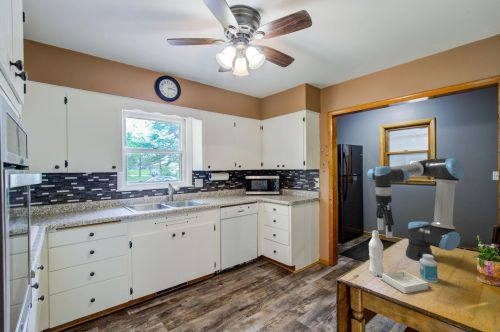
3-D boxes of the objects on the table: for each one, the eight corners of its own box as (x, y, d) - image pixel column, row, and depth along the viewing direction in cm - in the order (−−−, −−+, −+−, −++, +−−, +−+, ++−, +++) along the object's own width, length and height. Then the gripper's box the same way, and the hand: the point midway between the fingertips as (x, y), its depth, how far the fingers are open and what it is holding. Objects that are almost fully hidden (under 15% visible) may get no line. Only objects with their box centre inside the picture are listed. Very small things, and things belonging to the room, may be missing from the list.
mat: (407, 276, 129) (407, 274, 129) (432, 289, 116) (432, 287, 116) (380, 281, 125) (380, 279, 125) (403, 295, 111) (403, 293, 111)
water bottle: (366, 272, 135) (365, 229, 134) (378, 271, 135) (377, 228, 135) (374, 278, 128) (373, 233, 127) (386, 277, 128) (385, 232, 128)
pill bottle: (440, 282, 122) (440, 256, 122) (433, 286, 119) (432, 259, 119) (424, 276, 129) (424, 251, 129) (417, 279, 125) (416, 254, 125)
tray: (403, 275, 128) (403, 270, 128) (428, 288, 115) (427, 282, 115) (381, 279, 125) (381, 273, 125) (404, 293, 112) (404, 287, 112)
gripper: (369, 191, 140) (370, 226, 140) (383, 198, 116) (385, 241, 116) (383, 191, 138) (384, 227, 139) (400, 198, 114) (402, 241, 114)
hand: (384, 233), depth 127 cm, fingers open, 13 cm apart
